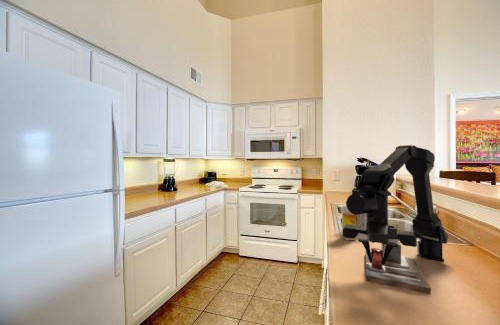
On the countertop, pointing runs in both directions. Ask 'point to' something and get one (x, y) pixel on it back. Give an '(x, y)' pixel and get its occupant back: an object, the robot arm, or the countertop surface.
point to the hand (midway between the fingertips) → (377, 263)
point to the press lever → (376, 261)
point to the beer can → (347, 219)
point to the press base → (400, 275)
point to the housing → (394, 254)
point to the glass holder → (361, 221)
